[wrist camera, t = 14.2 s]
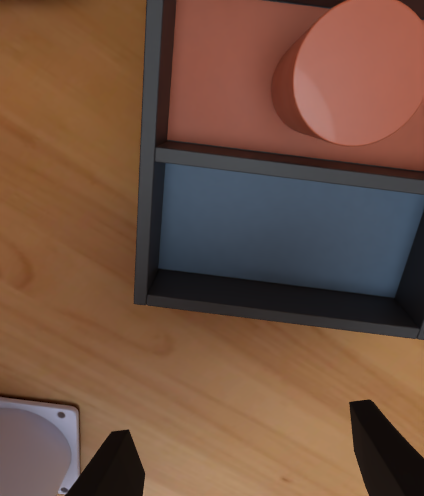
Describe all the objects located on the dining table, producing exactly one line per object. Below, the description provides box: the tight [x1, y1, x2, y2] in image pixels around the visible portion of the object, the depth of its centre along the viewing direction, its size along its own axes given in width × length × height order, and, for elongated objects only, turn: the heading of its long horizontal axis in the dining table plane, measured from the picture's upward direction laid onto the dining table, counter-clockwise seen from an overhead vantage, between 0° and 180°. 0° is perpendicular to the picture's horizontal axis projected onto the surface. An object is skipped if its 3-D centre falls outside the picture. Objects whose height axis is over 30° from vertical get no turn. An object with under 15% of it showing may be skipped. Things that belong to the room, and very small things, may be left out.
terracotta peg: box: [271, 0, 424, 147], centre depth 13 cm, size 4×4×6 cm
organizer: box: [134, 0, 424, 340], centre depth 16 cm, size 14×14×3 cm
